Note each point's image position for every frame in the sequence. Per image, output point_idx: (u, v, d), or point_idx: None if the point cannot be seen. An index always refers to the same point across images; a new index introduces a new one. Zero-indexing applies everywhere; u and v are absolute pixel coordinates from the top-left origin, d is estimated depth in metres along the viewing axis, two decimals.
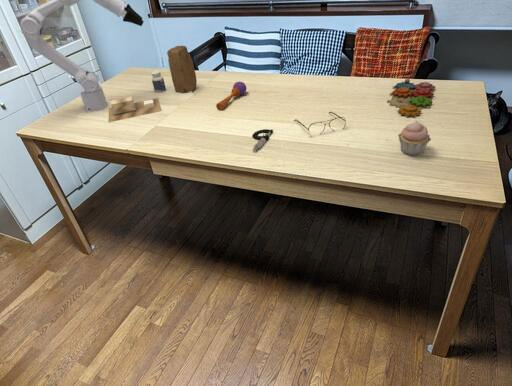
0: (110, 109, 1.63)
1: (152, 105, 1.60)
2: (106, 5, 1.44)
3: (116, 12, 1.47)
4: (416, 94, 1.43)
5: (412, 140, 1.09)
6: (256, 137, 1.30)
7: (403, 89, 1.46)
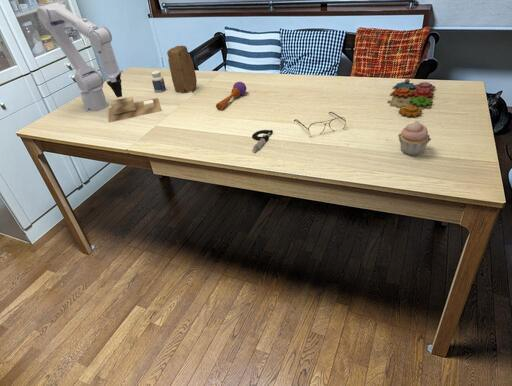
0: (110, 109, 1.63)
1: (152, 105, 1.60)
2: None
3: (107, 72, 1.47)
4: (416, 94, 1.43)
5: (412, 140, 1.09)
6: (256, 138, 1.30)
7: (403, 89, 1.45)
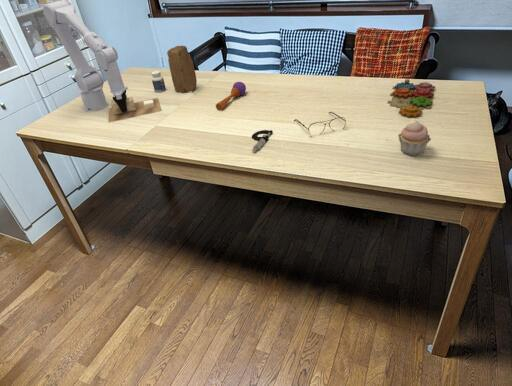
0: (110, 109, 1.63)
1: (152, 105, 1.60)
2: (107, 78, 1.49)
3: (112, 89, 1.51)
4: (416, 94, 1.43)
5: (412, 140, 1.09)
6: (255, 138, 1.30)
7: (403, 89, 1.45)
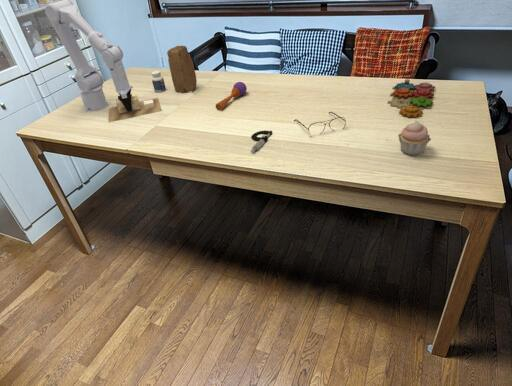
0: (110, 109, 1.63)
1: (152, 105, 1.60)
2: (112, 78, 1.50)
3: (118, 88, 1.51)
4: (416, 95, 1.43)
5: (412, 140, 1.09)
6: (255, 138, 1.30)
7: (403, 90, 1.45)
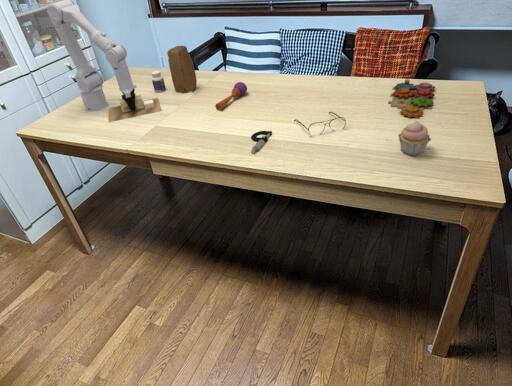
0: (110, 109, 1.63)
1: (152, 105, 1.60)
2: (116, 77, 1.50)
3: (121, 87, 1.52)
4: (417, 95, 1.43)
5: (412, 140, 1.09)
6: (255, 138, 1.30)
7: (404, 90, 1.45)
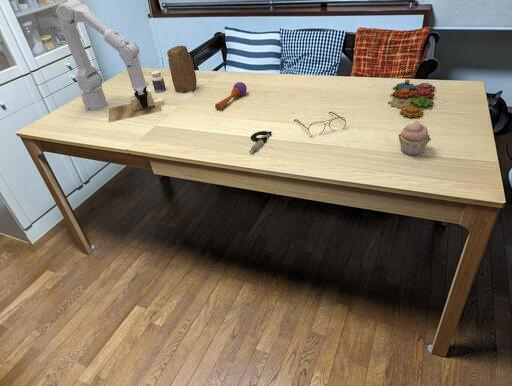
0: (110, 109, 1.63)
1: (162, 103, 1.60)
2: (129, 74, 1.51)
3: (134, 85, 1.53)
4: (417, 95, 1.43)
5: (412, 140, 1.09)
6: (254, 139, 1.30)
7: (404, 90, 1.45)
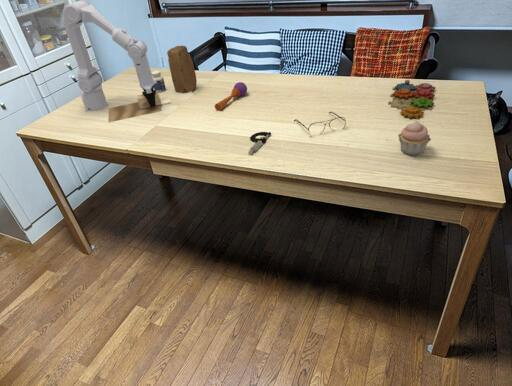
0: (110, 109, 1.63)
1: None
2: (138, 73, 1.51)
3: (142, 83, 1.53)
4: (417, 95, 1.42)
5: (412, 140, 1.09)
6: (253, 139, 1.29)
7: (404, 90, 1.45)
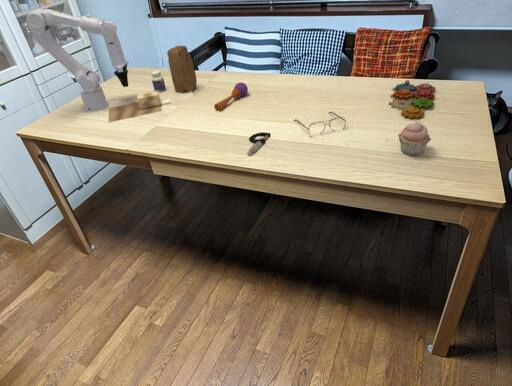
0: (110, 109, 1.63)
1: None
2: (111, 52, 1.52)
3: (114, 62, 1.55)
4: (417, 96, 1.42)
5: (412, 140, 1.09)
6: (252, 140, 1.29)
7: (404, 91, 1.44)
